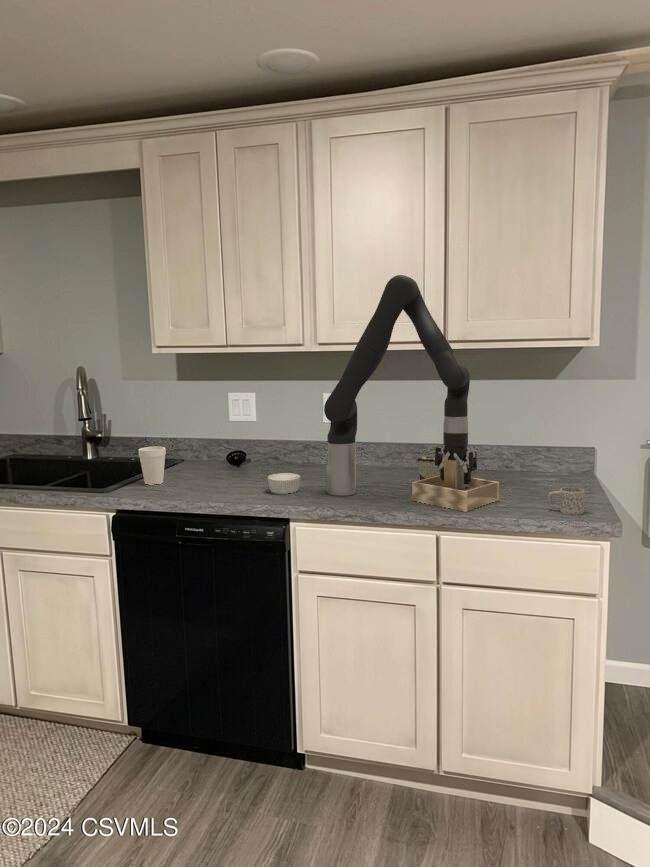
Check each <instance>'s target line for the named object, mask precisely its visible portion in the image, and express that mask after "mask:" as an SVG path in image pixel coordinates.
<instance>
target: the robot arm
mask: <svg viewBox="0 0 650 867" xmlns="http://www.w3.org/2000/svg"><path fill="white" fill-rule="evenodd" d="M403 311H404V313H405V314H406V315H407V316H408V318H409V320H410V321H411V322H412V325H413V326H414V328H415V331H416V333H417V336H418V338H419V341H420V342H421V344H422V346H423V348H424V350H425V351H426V353H427V355H428V357H429V358H430V360H431V362H433V364H434V366H435V369H436V371H437V374H438V376H439V378H440V380H441V382H442V383H443V385H444V386H445V388H447V394H446V398H445V400H444V409H443V412H444V414H443V416H444V417H443V425H442V426H443V430H442V431H443V432H442V433H443V434H442V437H443V440H442V442H443V446H444V447H443V446H437V447H435V452H434V455H435V465H436V466H438V467H440V477H441V480H444V461H445V460H457V461H458V463H459V465H460V466H461V467H462V468H463V470H464V471H465V472H464V484H469V483H470V482H471V478H472V472H474V471H477V469H478V462H477V461H478V458H477V456H478V455H477V451H476V450H471V451H470V450H468V445H469V421H468V419H469V418H468V398H469V392H470V383H471V381H470V380H471V377H470V371H469V370H468V369H467V368H466V367H465V366H464V365H460V364H459V363H458V361H457V359H456V357H455V355H454V350H453V348H452V346H451V345H450V343H449V341H448V340H447V338H446V336H445V335H444V333H443V332H442V330H441V329H440V327H439V326H438V324H437V322H436V321H435V318H433V316H432V315H431V313H430V311H429V309H428V306H427V304H426V303H425V300H424V298H423V296H422V293H421V290H420V288H419V284H418V282H416V280H415V279H413V278H411V276H410V277H409V276H407V275H405V274H404V275H403V274H397V275H394V276H393V277H391V278H390V279H389V280H388V281H387V283H386V285H385V286H384V290H383V291H382V294H381V297H380V299H379V302H378V304H377V307H376V309H375V312H374V313H373V315H372V317H371V319H370V320H369V322H368V324H367V325H366V327H365V329H364V331H363V332H362V334H361V336H360V338H359V340H358V342H357V344H356V346H355V347H354V350H353V352H352V354H351V356H350V358H349V360H348V362H347V364H346V366H345V369H344V370H343V373H342V375H341V377H340V380H338V383H337V384H336V385H335V387H334V388H333V390H332V392H331V393H330V394H329V396H328V398H327V400H326V401H325V403H324V406H323V412H324V416H325V418H326V419H327V421H329V422H330V427H329V430H328V433H327V463H326V465H325V471H326V472H325V475H326V476H325V478H326V479H325V480H326V481H325V482H326V493H328V494H329V495H331V496H335V497H336V496H337V497H343V496H345V497H346V496H352V495H355V494H356V493H357V465H356V464H357V457H356V454H357V452H356V449H357V448H356V436H357V433H358V432H357V431H358V405H357V402H356V399H357V397H358V395H359V393H360V390H361V389H362V388H363V386H364V385H365V384H366V382H368V380H369V379H370V378H371V376H372V375H373V374H374V373H375V371H376V370H377V369H378V367H379V366H380V363H381V361H382V360H383V358H384V356H385V354H386V352H387V351H388V348H389V345H390V342H391V338H392V334H393V330H394V327H395V325H396V323H397V320H398V318H399V317H400V315H401V313H402V312H403ZM443 455H444V459H443ZM463 461H464V462H463Z"/></svg>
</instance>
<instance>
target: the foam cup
mask: <svg viewBox="0 0 650 867" xmlns="http://www.w3.org/2000/svg"><path fill="white" fill-rule="evenodd" d="M166 455H167V451H166V447H164V446H155V445H154V446H145V447H140V448H138V457H139V461H140V466H141V471H142V476H143V481H144V485H145V484H149V485H154V484H161V483H164V475H165V465H166V464H165V461H166ZM161 485H162V484H161Z"/></svg>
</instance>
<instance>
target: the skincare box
mask: <svg viewBox="0 0 650 867" xmlns="http://www.w3.org/2000/svg"><path fill="white" fill-rule="evenodd" d="M463 462H464V461H463ZM464 472H465V471H464V470H463V468H462V467H461V466H460V465H459V463H458V461H457V460H445V461H444V487H445V488H451V489H456V490H465V484H464Z"/></svg>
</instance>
